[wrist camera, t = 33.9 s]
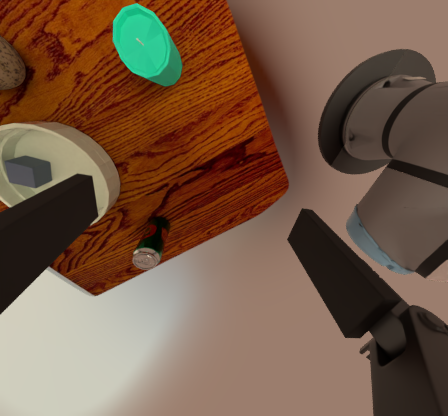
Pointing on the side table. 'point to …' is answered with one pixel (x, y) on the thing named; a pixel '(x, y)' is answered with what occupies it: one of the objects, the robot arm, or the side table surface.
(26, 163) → the block
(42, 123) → the bowl
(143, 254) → the soda can
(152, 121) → the side table surface
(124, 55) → the candle
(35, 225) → the robot arm
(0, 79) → the decorative egg
